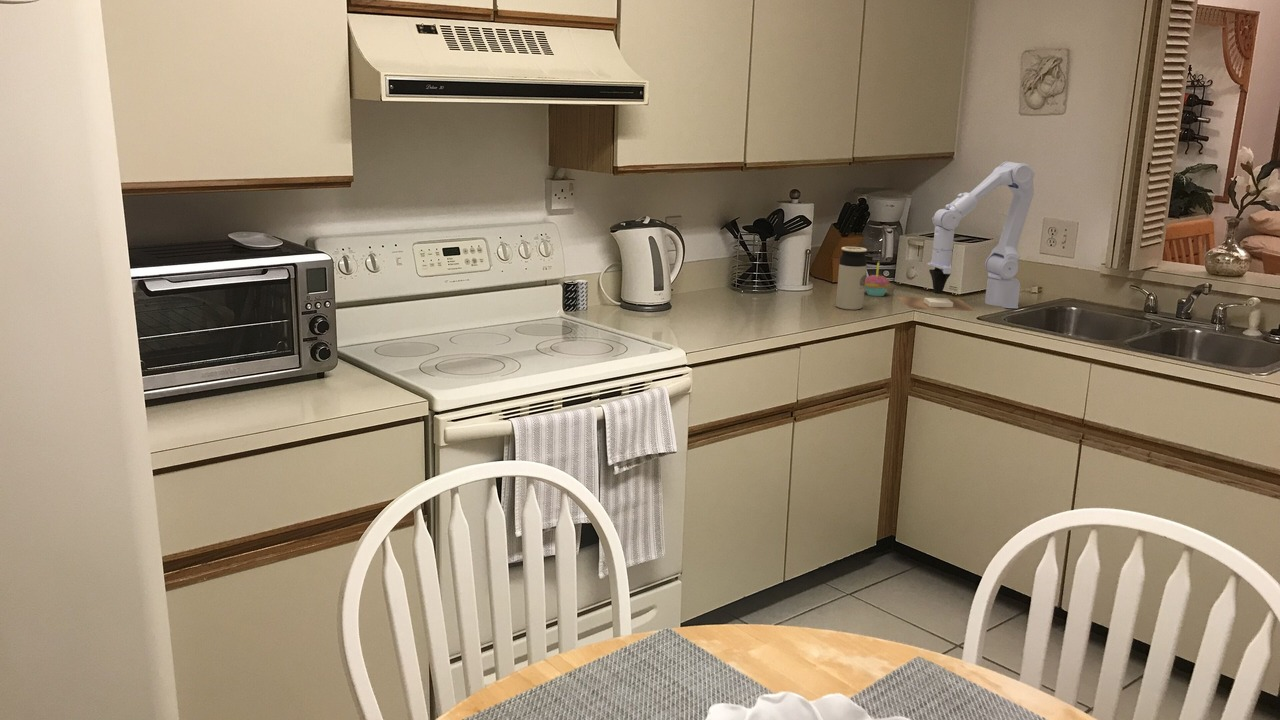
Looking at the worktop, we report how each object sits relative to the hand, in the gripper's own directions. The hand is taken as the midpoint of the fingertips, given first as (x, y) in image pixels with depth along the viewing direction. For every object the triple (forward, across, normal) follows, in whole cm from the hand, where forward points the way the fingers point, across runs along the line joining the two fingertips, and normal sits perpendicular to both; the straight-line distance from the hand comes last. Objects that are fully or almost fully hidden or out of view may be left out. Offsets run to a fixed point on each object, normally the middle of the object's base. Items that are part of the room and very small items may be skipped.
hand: (937, 293), depth 311 cm
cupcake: (+4, -13, -16) cm, 21 cm away
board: (+4, -1, 0) cm, 4 cm away
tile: (+3, -2, 0) cm, 3 cm away
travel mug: (+4, +5, -28) cm, 29 cm away
